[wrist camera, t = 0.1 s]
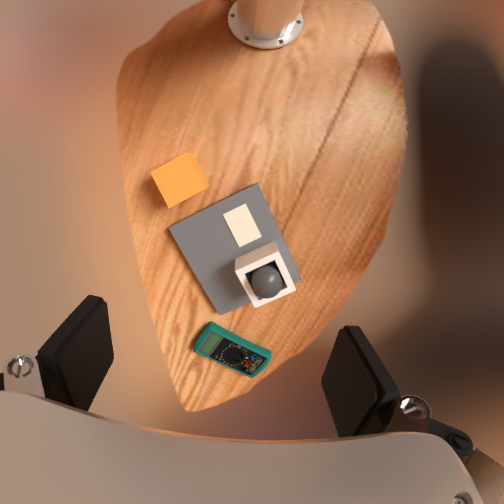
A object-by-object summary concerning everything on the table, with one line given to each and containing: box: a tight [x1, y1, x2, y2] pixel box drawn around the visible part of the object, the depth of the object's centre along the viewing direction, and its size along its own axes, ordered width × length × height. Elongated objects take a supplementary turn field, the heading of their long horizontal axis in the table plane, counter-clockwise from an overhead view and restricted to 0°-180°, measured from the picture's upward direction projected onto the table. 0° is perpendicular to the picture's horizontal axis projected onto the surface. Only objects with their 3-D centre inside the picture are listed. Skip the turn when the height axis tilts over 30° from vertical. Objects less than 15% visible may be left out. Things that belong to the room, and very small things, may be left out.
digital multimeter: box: [193, 322, 271, 378], centre depth 54 cm, size 7×15×3 cm, turn 57°
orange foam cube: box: [150, 152, 209, 208], centre depth 41 cm, size 6×6×6 cm
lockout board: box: [169, 183, 301, 315], centre depth 45 cm, size 18×16×7 cm
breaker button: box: [251, 262, 282, 299], centre depth 43 cm, size 4×4×4 cm
